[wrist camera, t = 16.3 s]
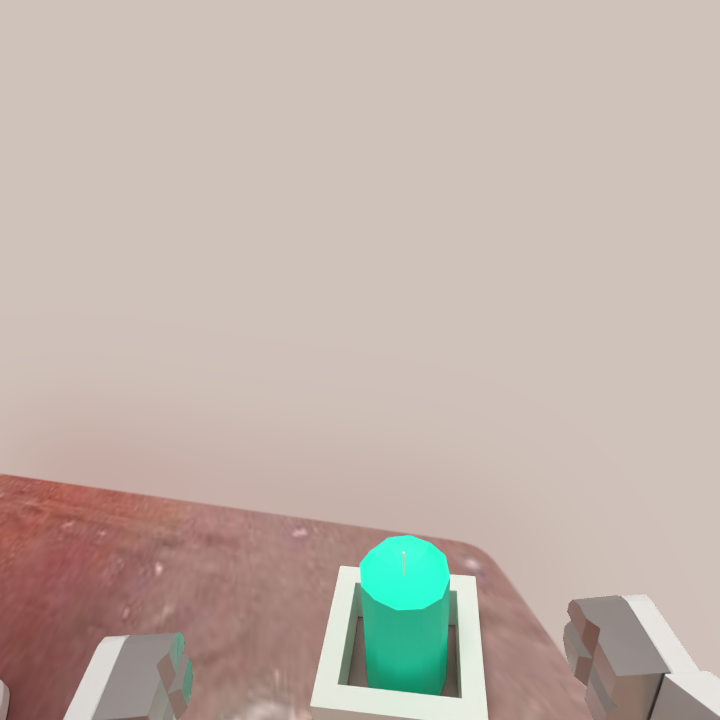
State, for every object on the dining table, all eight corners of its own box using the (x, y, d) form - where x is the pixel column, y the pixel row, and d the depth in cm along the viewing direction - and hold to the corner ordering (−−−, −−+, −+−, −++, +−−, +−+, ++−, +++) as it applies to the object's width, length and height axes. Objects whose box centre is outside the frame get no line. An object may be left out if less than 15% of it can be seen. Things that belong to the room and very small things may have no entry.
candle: (425, 623, 40) (426, 510, 35) (460, 696, 35) (468, 575, 29) (355, 646, 38) (346, 532, 33) (381, 726, 33) (374, 604, 28)
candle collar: (315, 742, 32) (310, 706, 31) (343, 599, 42) (340, 566, 41) (484, 764, 31) (488, 727, 29) (472, 610, 41) (475, 576, 39)
